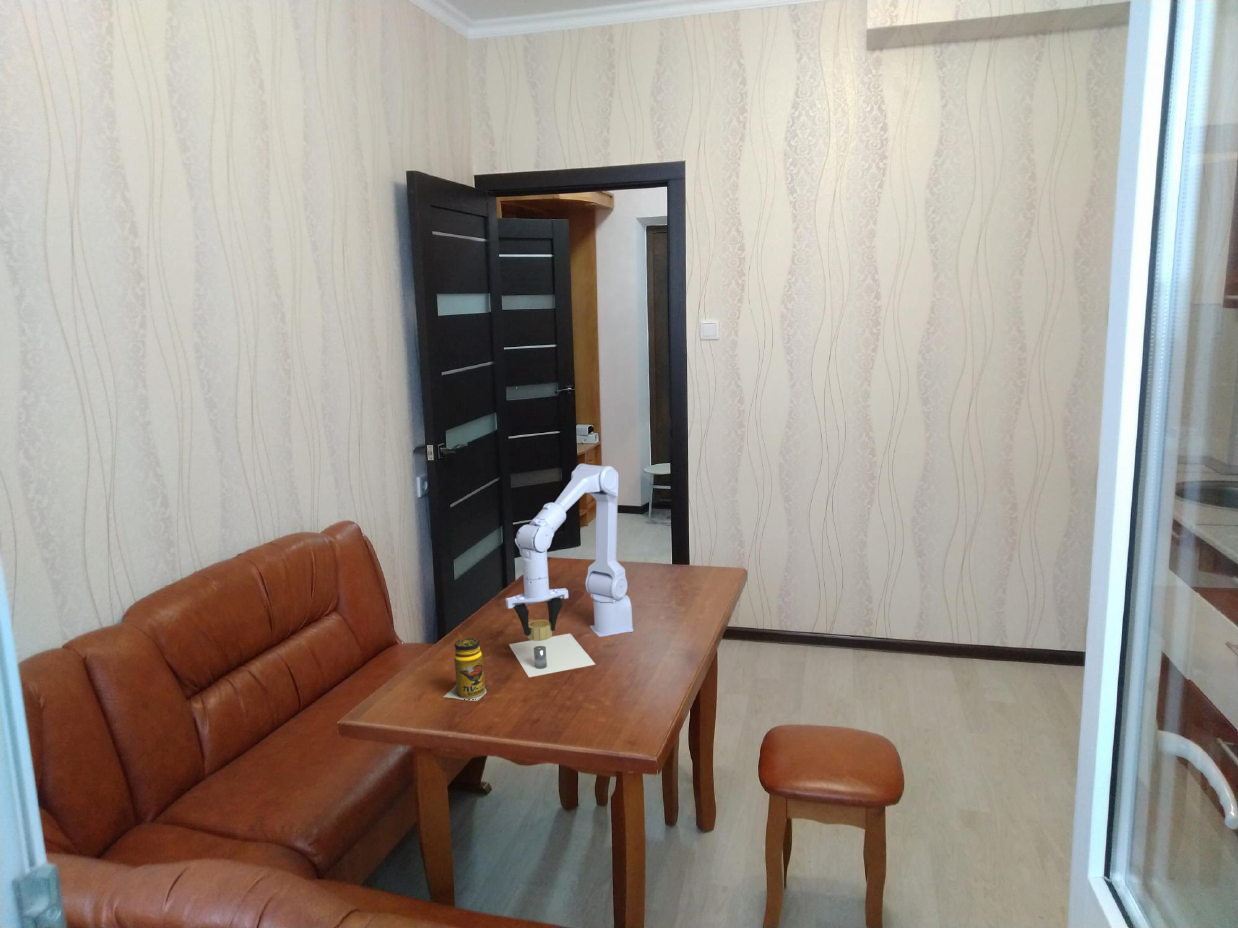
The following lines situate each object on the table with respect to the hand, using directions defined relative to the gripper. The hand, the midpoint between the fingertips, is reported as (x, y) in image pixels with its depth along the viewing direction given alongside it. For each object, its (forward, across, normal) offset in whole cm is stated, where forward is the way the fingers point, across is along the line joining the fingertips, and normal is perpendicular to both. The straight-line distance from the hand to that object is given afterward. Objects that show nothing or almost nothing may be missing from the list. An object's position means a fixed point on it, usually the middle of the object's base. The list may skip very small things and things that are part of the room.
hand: (539, 631), depth 199 cm
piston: (+8, +1, +1) cm, 9 cm away
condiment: (+9, +19, +5) cm, 21 cm away
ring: (+1, 0, 0) cm, 1 cm away
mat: (+8, -4, -5) cm, 10 cm away
